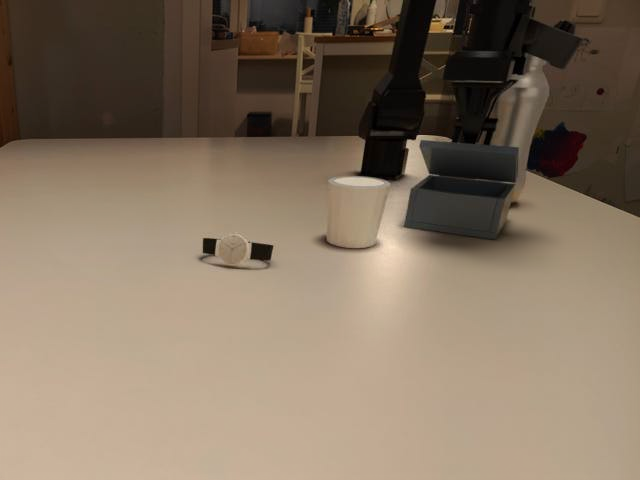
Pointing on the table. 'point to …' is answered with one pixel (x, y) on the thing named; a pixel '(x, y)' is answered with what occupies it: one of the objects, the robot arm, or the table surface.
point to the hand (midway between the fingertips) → (471, 143)
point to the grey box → (459, 206)
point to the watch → (236, 249)
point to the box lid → (472, 157)
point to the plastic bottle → (521, 115)
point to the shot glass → (355, 210)
